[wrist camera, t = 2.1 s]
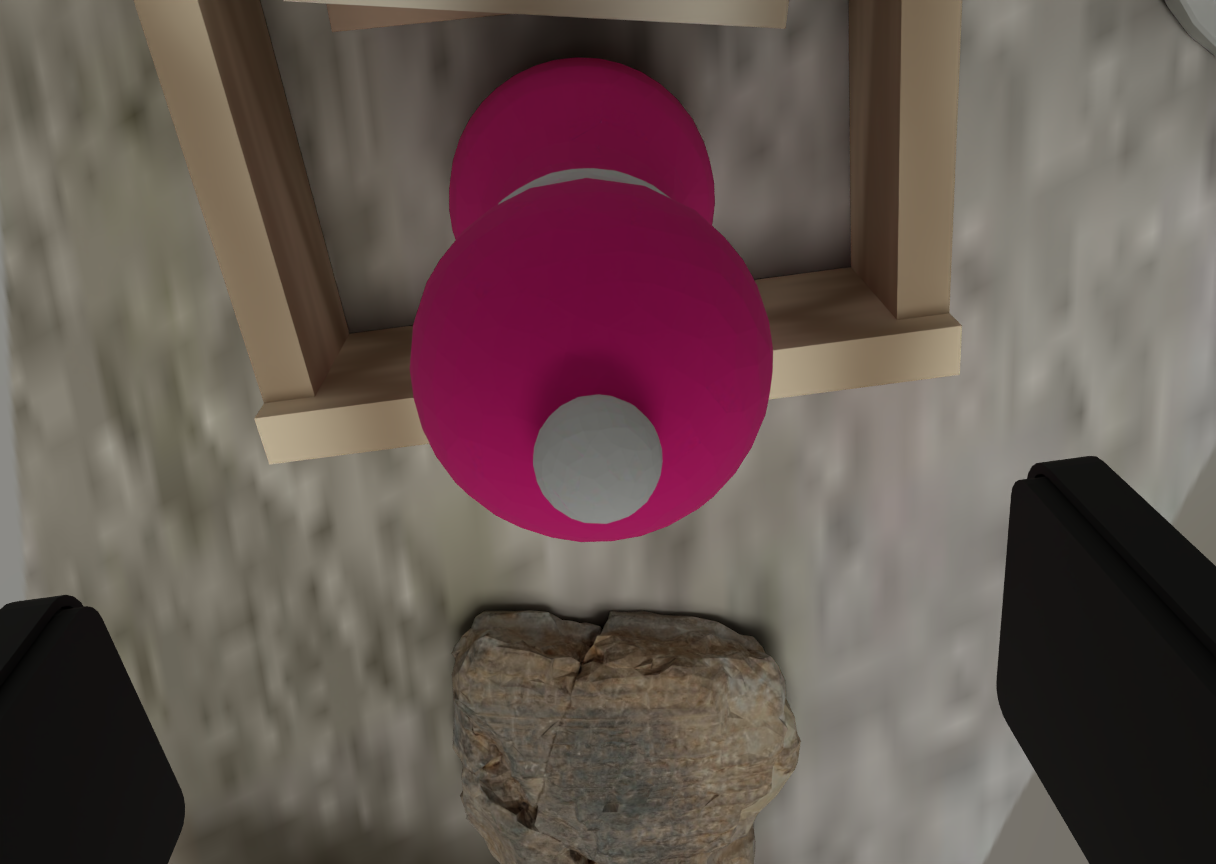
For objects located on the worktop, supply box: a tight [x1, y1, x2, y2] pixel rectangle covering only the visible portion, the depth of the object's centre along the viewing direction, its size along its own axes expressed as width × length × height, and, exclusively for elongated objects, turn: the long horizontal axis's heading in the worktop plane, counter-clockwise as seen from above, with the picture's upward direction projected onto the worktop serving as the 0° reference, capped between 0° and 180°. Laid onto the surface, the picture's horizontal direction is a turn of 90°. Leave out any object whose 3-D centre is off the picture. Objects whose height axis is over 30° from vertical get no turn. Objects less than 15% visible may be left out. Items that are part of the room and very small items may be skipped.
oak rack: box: [134, 0, 962, 464], centre depth 26 cm, size 20×16×6 cm
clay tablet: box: [452, 610, 801, 864], centre depth 41 cm, size 14×5×20 cm
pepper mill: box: [410, 57, 773, 542], centre depth 21 cm, size 7×7×20 cm
